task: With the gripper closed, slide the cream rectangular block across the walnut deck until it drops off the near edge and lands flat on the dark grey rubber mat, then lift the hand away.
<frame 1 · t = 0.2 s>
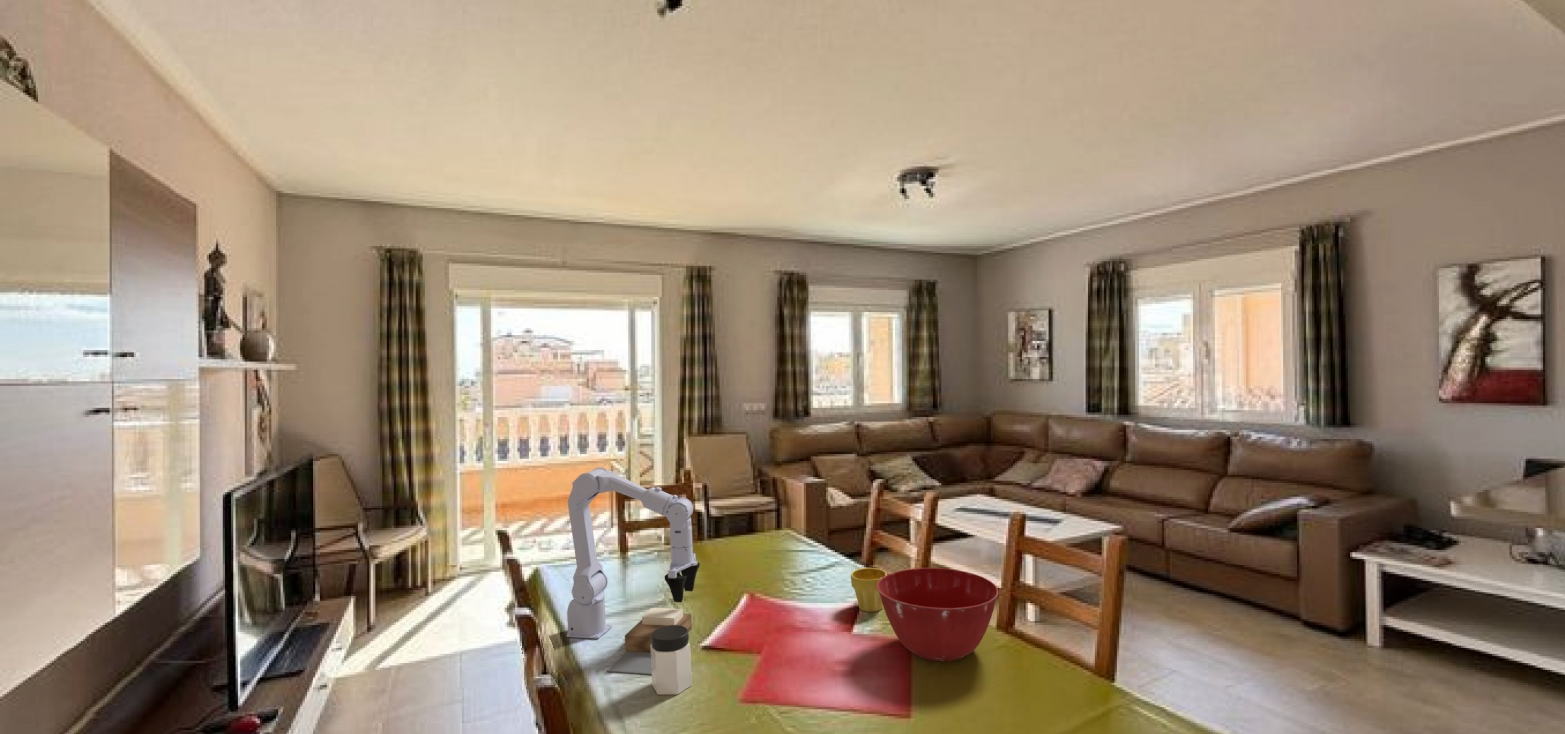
hand: (683, 596, 169), 10 cm above the table, tool pointing down, fingers open, 7 cm apart
cream rectangular block: (662, 620, 168), point 4 cm above the table, touching deck
jar: (672, 686, 142), on the table
mat: (639, 663, 153), on the table
plant pot: (870, 608, 181), on the table
deck: (659, 639, 166), on the table
mixing bowl: (939, 649, 154), on the table
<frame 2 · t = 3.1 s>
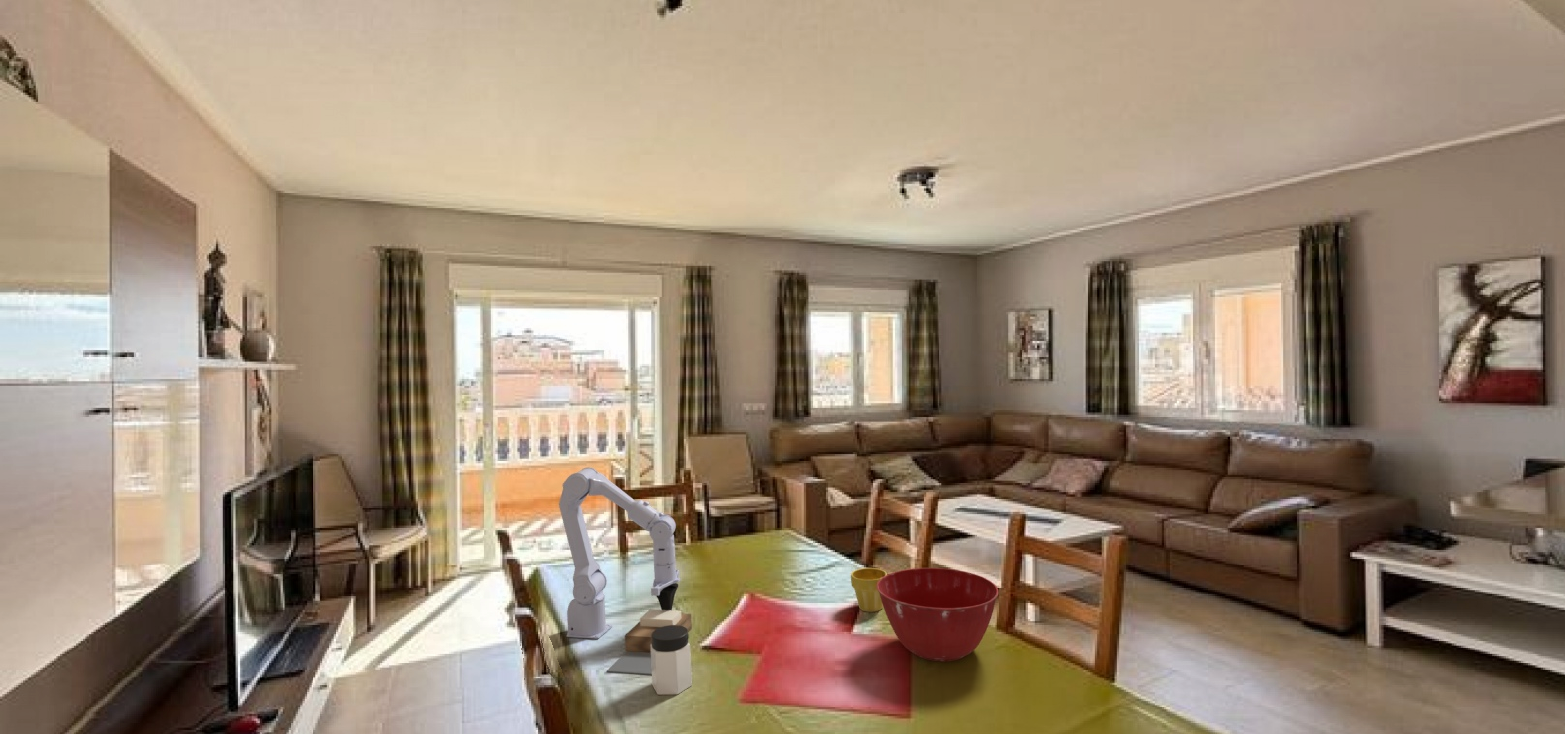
hand: (667, 612, 171), 5 cm above the table, tool pointing down, fingers closed
cream rectangular block: (661, 622, 167), point 4 cm above the table, touching deck
everything else where it was.
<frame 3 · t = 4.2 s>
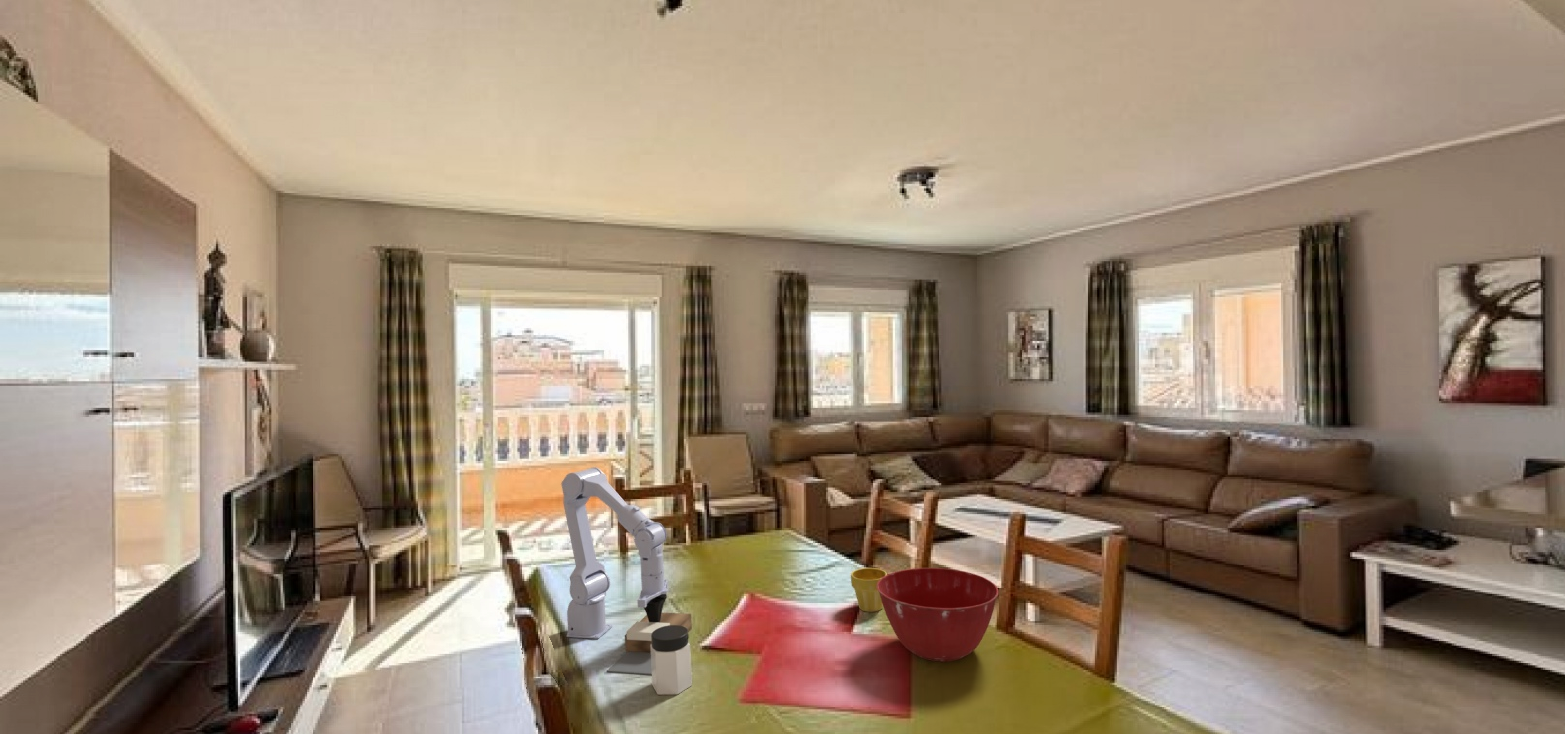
hand: (654, 624, 163), 5 cm above the table, tool pointing down, fingers closed
cream rectangular block: (648, 635, 159), point 4 cm above the table
everything else where it was.
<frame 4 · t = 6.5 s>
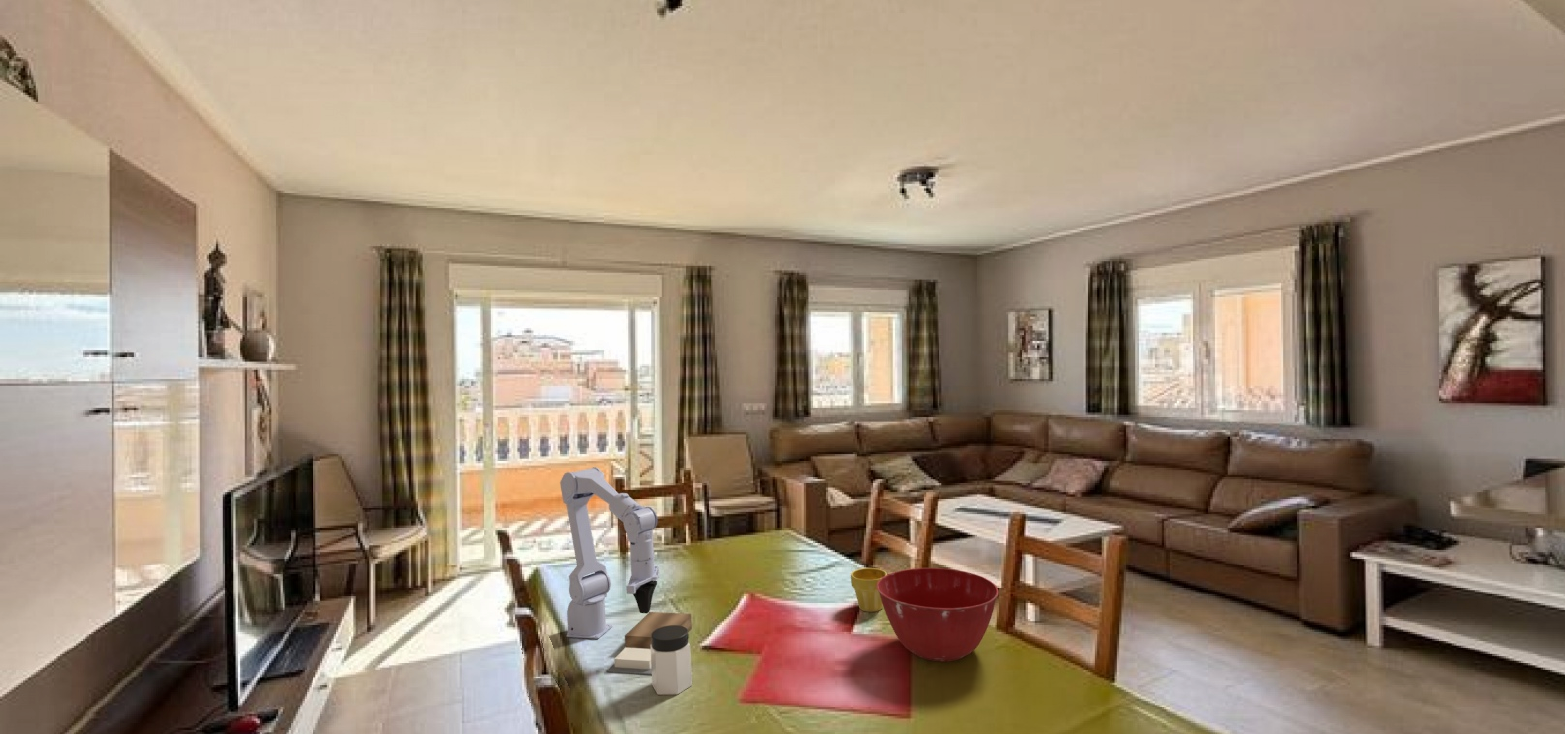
hand: (644, 612, 158), 10 cm above the table, tool pointing down, fingers closed
cream rectangular block: (637, 654, 153), point 2 cm above the table, tilted 180°, touching mat
everything else where it was.
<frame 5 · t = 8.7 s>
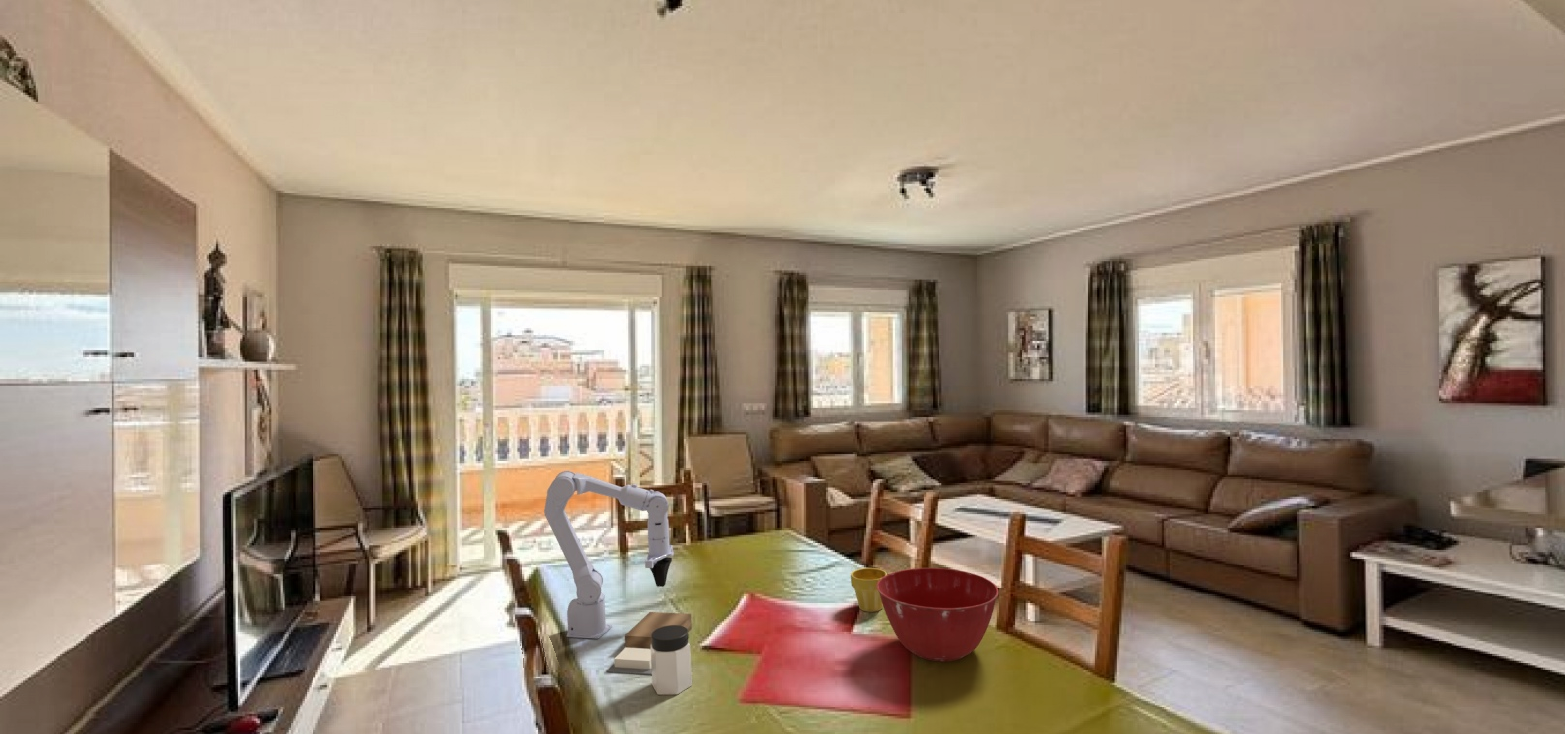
hand: (660, 585, 176), 10 cm above the table, tool pointing down, fingers closed
nothing on the table moved.
at the end: cream rectangular block point 2.3 cm above the table; cream rectangular block inside the target area (0.6 cm from its centre), point 2.3 cm above the table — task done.
